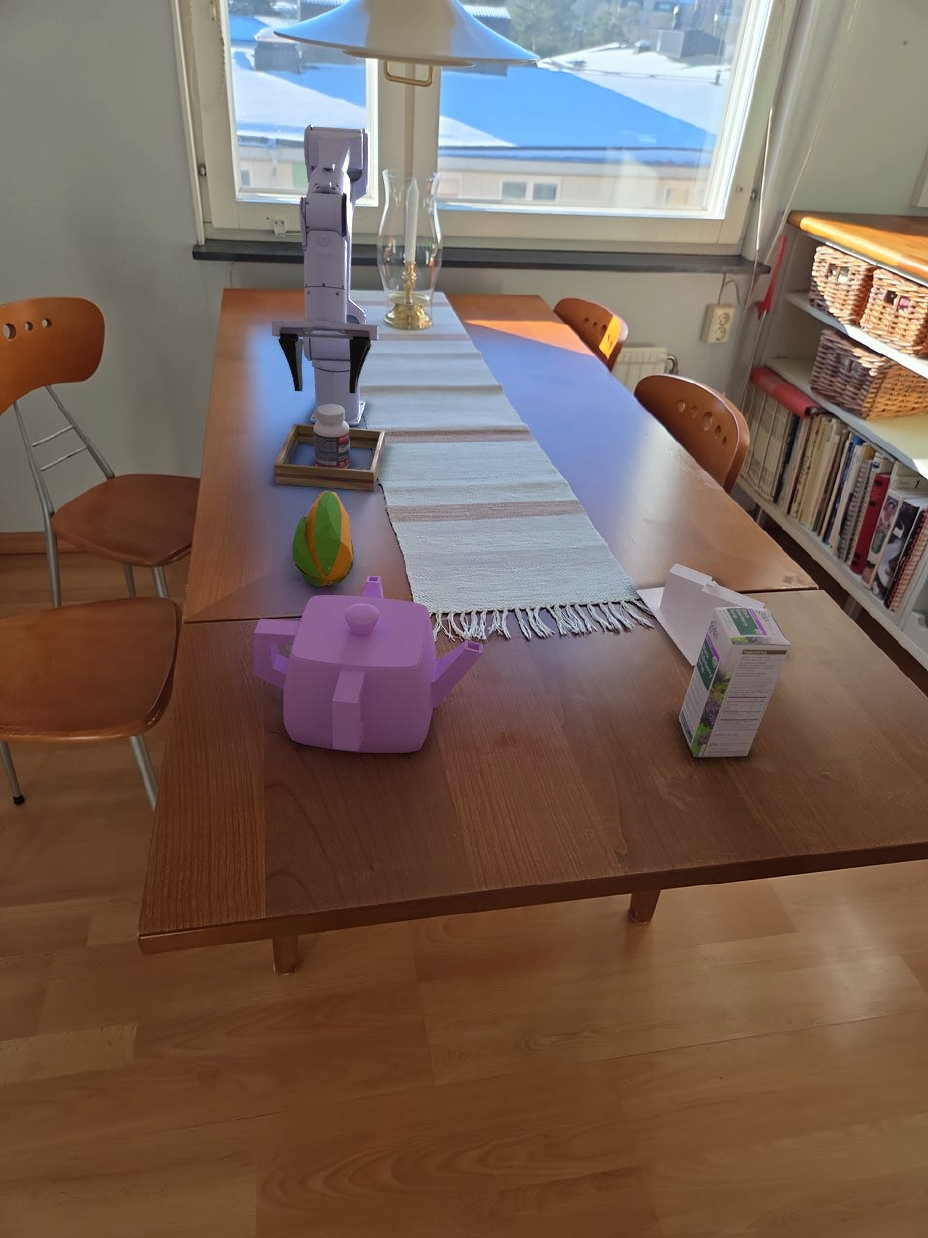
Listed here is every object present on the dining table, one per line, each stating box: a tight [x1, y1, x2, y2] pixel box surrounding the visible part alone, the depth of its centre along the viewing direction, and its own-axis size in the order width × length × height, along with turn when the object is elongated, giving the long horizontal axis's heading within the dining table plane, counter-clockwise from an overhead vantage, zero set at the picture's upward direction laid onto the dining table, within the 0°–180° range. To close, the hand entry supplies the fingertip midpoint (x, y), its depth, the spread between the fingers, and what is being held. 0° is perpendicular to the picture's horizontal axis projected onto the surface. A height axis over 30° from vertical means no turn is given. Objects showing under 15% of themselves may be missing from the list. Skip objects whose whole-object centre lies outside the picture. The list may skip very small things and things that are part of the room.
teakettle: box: [252, 574, 484, 754], centre depth 82 cm, size 17×17×12 cm
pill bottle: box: [313, 404, 351, 469], centre depth 124 cm, size 5×5×9 cm
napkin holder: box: [635, 562, 767, 667], centre depth 99 cm, size 15×11×6 cm
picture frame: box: [273, 423, 386, 492], centre depth 126 cm, size 14×14×3 cm
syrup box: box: [678, 607, 792, 758], centre depth 81 cm, size 6×6×14 cm
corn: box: [292, 490, 354, 588], centre depth 105 cm, size 7×8×20 cm
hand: (325, 392), depth 119 cm, fingers open, 7 cm apart
